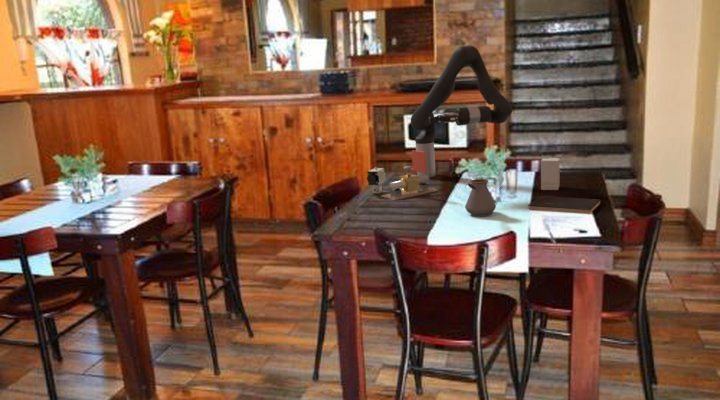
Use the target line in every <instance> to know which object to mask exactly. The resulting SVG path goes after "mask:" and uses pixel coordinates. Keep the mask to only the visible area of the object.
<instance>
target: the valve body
mask: <svg viewBox="0 0 720 400" xmlns="http://www.w3.org/2000/svg"><path fill="white" fill-rule="evenodd" d="M405 172H406V174H404V175H399V176H398V181H393V182H389V183H388V189H389V193H387V194H386V193H385V194H382V195H381V198H383V197H384V199H387V198H388V200H391V201H397V200H398V201H399V200H401V199H408V198H411V197H416V196H420V195H425V194H429V193H435V192H439V191H438V190H439V189H438V188H435V187H430V186H429V183H430V177H428V176H421V177H419V176H418V175H416V174H411V172H412V171H405Z"/></svg>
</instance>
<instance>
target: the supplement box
mask: <svg viewBox="0 0 720 400" xmlns="http://www.w3.org/2000/svg"><path fill="white" fill-rule="evenodd" d="M560 176H561V175H560V158H559V157H558V158H557V157H555V158H554V157H553V158H551V157H550V158H549V157H548V158H542V159H541V160H540V190H542V191H548V190H549V191H559V188H560Z"/></svg>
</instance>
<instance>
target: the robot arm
mask: <svg viewBox="0 0 720 400" xmlns="http://www.w3.org/2000/svg"><path fill="white" fill-rule="evenodd" d="M448 60H449V61H448V62H447V64H446V66H445V68H444V69H443V71H442V72H441V74H440V75H439V77H438V79H437V80H436V81H435V83H434V84H433V86H432V87H431V89H430V91H429V93H427V95H426V96H425V98H424V100H423V101H422V102H421V104H420V105H419V106H418V107H417V108H416V110H414V112H413V113H412V115H411V118H410V126H411V127H412V129H413V130H415V131H416V130H417V131H420V133H419V134H418V135H417V136H416V137H415V138H414V139H415V140H414V141H415V151H423V152H425V153H426V170H427V173H422V172H416V173H417V175H418V176H419V177H421V176H428V177H429V178H433V177H436V159H435V158H436V156H435V140H434V139H435V137H436V123H455V124H456V126H461V127H462V126H468V125H475V124H481V123H490V124H503V123H505V122H506V121H507V120H509V118H510V116H511V115H512V114H513V110H514V109H513V105H512V103H511V102H510V101H509V99H507V98H506V97H505V96H504V95H503V94H501V93H500V91H499V89H498V88H497V87H496V85H495V83H494V81H493V80H492V78H491V77H490V74H489V72H488V70H487V68H486V65H485V63H484V61H483V58H482V55H481V54H480V52H479V50H478V48H477V47H475V46H474V45H465V46H464V45H463V46H459V47H457V48H456V49H454V51H453V53H452V55H451V56H450V58H449V59H448ZM469 67H470V68H471V70H472V71H473V73H474V74H475V76H476V81H477V82H476V84H477V87H478V91H479V93H480V95H481V96H482V98H483V99H484V101H485V102H486V104H487V105H494V106H495V108H494V109H491V108H490V106H487V105H483V106H482V105H480V106H467V107H457V108H456V109H455V110H454V112H447V113H442V114H439V115H436V116H435V114H434V113H433V112H434V111H435V110H437V109H438V108H439V107H441V106H442V105H444V103H445V102H447V101H448V99H449V98H450V97H451V95H452V94H453V92H454V91H455V87H456V79H457V76H458V74H459V73H460V72H461V71H462V70H463V69H464V68H469Z"/></svg>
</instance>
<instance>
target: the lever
mask: <svg viewBox="0 0 720 400" xmlns="http://www.w3.org/2000/svg"><path fill="white" fill-rule="evenodd" d="M411 161H412V164H411V165H408V166H407V165H406V166H403V171H404V172H406V171H411V172H416V173H417V172H422V173H427V170H426V153H425V152H423V151H416V149H415V150H414V149H413V150H411Z"/></svg>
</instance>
